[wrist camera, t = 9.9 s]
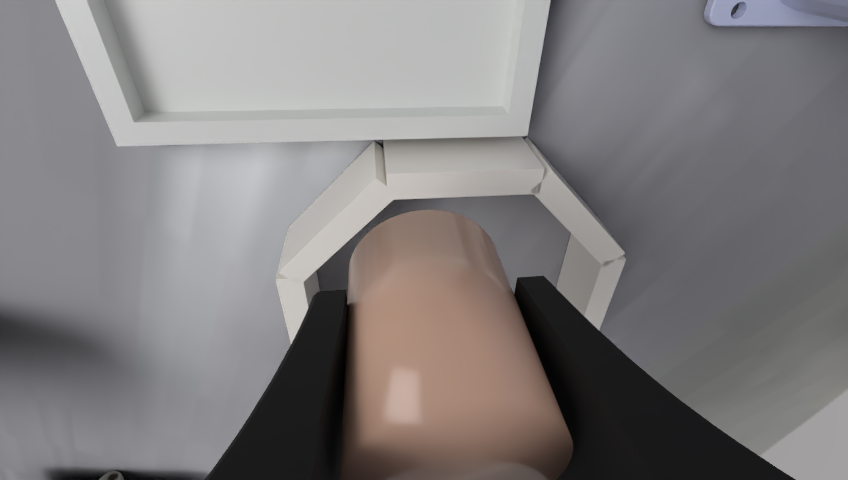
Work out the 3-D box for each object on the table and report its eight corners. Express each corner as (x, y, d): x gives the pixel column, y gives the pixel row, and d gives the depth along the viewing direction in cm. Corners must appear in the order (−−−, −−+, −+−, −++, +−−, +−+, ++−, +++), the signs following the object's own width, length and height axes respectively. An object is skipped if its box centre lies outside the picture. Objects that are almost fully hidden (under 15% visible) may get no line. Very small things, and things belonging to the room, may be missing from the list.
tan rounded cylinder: (502, 202, 10) (594, 389, 6) (493, 316, 12) (554, 506, 8) (337, 217, 10) (320, 423, 6) (358, 331, 12) (356, 534, 8)
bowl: (622, 131, 18) (662, 164, 15) (553, 354, 26) (573, 398, 24) (267, 139, 16) (251, 178, 14) (315, 373, 25) (309, 422, 22)
